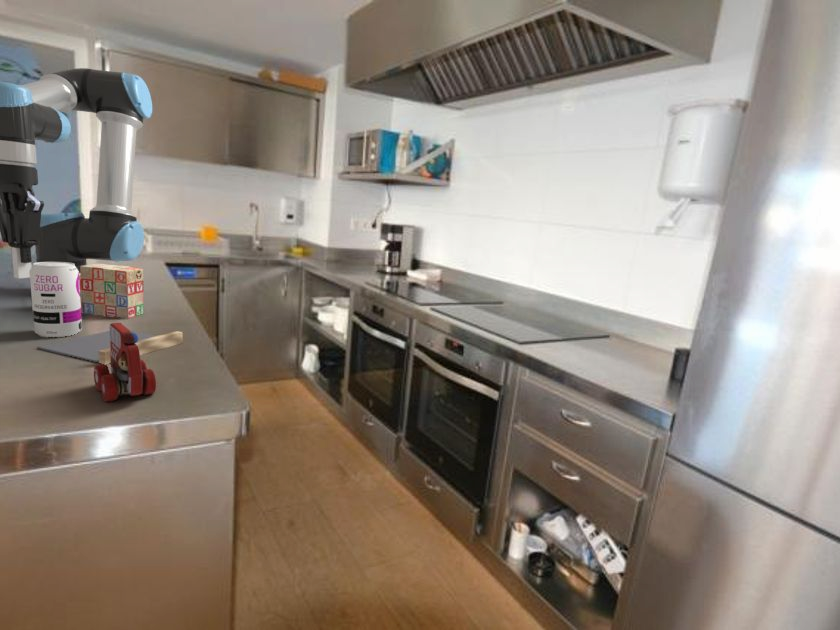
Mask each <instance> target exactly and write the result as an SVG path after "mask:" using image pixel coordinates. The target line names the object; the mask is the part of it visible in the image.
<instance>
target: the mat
mask: <svg viewBox="0 0 840 630" xmlns="http://www.w3.org/2000/svg"><path fill="white" fill-rule="evenodd" d="M129 330H130V329H129ZM130 331H131V332H132V333H135V334H136V335H137V336H138V341H140V340H144V339H148V338H152V337H156V336H157V335H155V334H149V333H145V332H139V331H135V330H130ZM110 345H111V344H110V330H108V331H104V332H103V331H102V332H99V333H93V334H88V335H85V336H84V335H83V336H79V337H75V338H70V339H66V340H62V341H56V342H53V343H52V342H51V343H47V344H42V345H38V346H36V348H37V349H38V350H42V351H46V352H50V353H54V354H58V355H63V356H66V355H67V357H70V356H72V357H71V358H74V357H77V358H76V359H79V358H81V359H80V360H83V359H85V360H84V361H87V360H89V361H88V362H91V361H94V362H93V363H95V362H99V355H98V351H100V350H104V349H108V348H111V347H110Z"/></svg>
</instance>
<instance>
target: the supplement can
mask: <svg viewBox="0 0 840 630" xmlns="http://www.w3.org/2000/svg"><path fill="white" fill-rule="evenodd" d="M29 273H30V277H29V281H30V282H29V284H30V294H31V306H32V307H31V308H32V319H33V320H32V321H33V332H34V333H35V334H37V335H38V337H42V338H48V337H53V338H54V337H57V338H65V336H67V337H71V335H72V336H75V335H78V334H79V333H80V332H81V331H82V330H83V321H82V320H83V319H82V314H81V302H80V285H79V271H78V270H77V268H76V267H75V264H74V263H68V262H37V261H36V262H34V263H32V267H31V269H30V271H29ZM78 332H79V333H78ZM77 333H78V334H77ZM74 334H75V335H74Z"/></svg>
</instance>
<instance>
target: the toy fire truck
mask: <svg viewBox="0 0 840 630" xmlns="http://www.w3.org/2000/svg"><path fill="white" fill-rule="evenodd" d="M109 331H110V344H111V345H110V347H111V356H110V357H111V364H110V368H109V366H108V364H107V365H103V364H97V365H95V366H94V368H93V380H94V386H95V388H96V390H97V391H99V392H101V396H102V400H103V402H107V403H108V402H113V401H116V400H117V399H118V398H119V397H118V396H120V395H123V394H124V393H127V394H129V395H130V396H139V395H142V394H143V395H144V396H147V395H153V394H155V393H156V389H157V380H156V374H155V372H154V370H153V369H150V368H149V369H148V368H147V364H146V361H144V360H142V358H141V355H140V352H139V348H138V346H137V345H136V344H135V343H137V342H138V336H137V335H136V334H135V333H132V332H131V331H132V330H131V331H130V329H129V328H127V326H125V325H124V324H122V322H113V323H112V322H111V323H110V324H109Z"/></svg>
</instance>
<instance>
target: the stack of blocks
mask: <svg viewBox="0 0 840 630" xmlns="http://www.w3.org/2000/svg"><path fill="white" fill-rule="evenodd" d="M80 272H81V273H79V285H80V302H81V313H84V314H83V315H88V314H94V315H93V316H97V315H103V316H102V317H106V316H113V317H112V318H114V317H121V318H120V319H123V318H130V319H132V318H131V317H133V318H135V317H134V316H136V317H138V316H137V315H140V314H143V313H144V314H145V304H144V268H139V267H132V266H127V265H116V264H115V265H114V264H105V263H93V264H87V265H84V266H80ZM144 314H143V315H144ZM104 315H105V316H104ZM140 316H141V315H140Z"/></svg>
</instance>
